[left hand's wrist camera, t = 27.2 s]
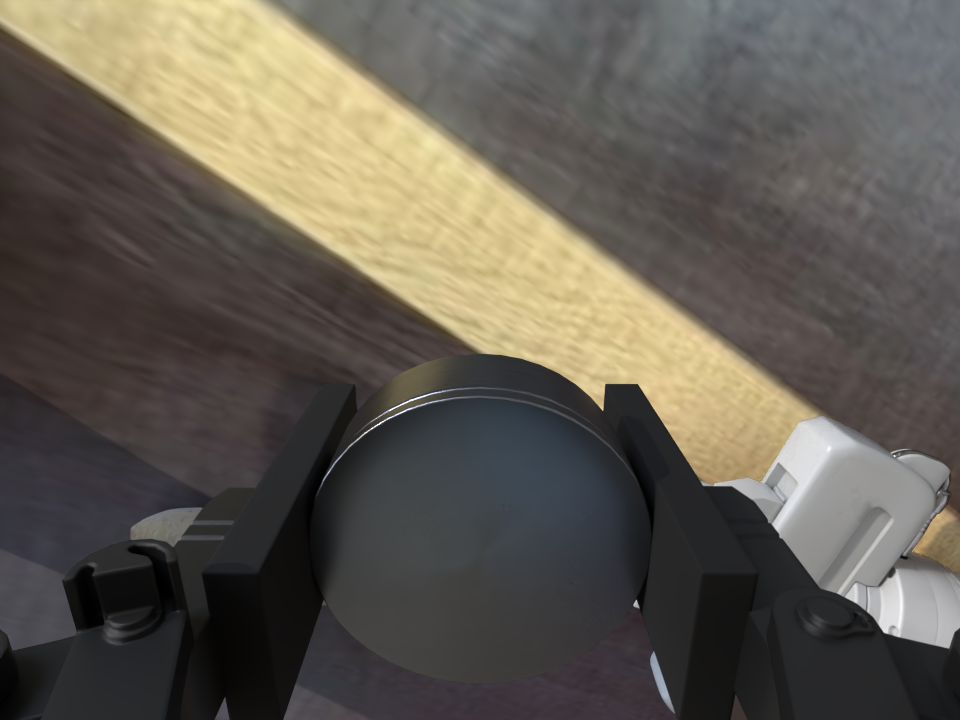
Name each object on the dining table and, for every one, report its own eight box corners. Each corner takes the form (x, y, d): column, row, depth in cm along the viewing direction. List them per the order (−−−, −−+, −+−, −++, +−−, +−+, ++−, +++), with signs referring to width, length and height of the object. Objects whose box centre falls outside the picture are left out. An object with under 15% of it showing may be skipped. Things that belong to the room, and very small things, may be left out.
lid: (327, 590, 13) (301, 668, 11) (341, 333, 11) (313, 374, 9) (594, 618, 13) (613, 698, 11) (655, 372, 11) (691, 420, 9)
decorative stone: (354, 608, 44) (345, 644, 41) (139, 551, 42) (112, 585, 39) (377, 541, 42) (369, 574, 39) (152, 479, 40) (124, 509, 37)
